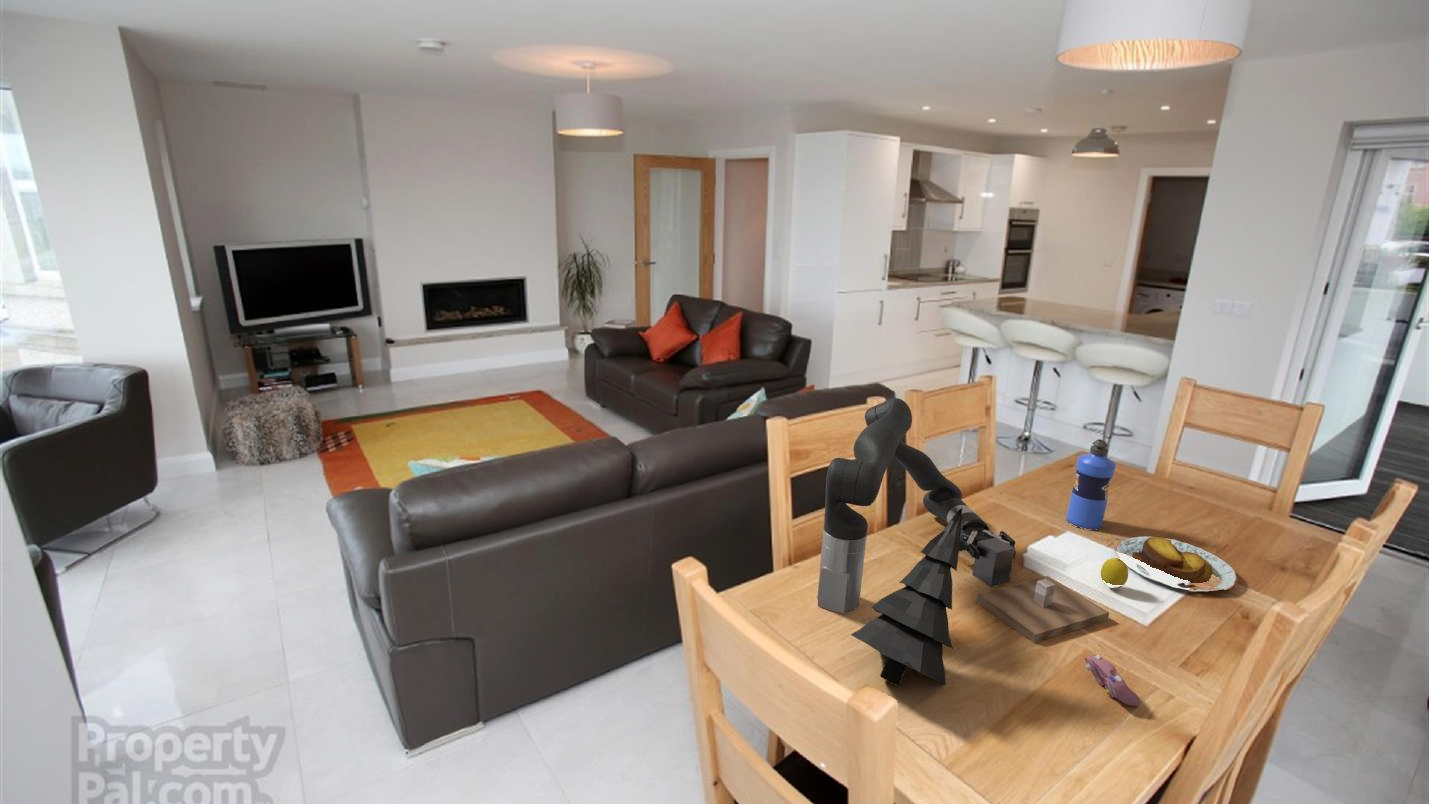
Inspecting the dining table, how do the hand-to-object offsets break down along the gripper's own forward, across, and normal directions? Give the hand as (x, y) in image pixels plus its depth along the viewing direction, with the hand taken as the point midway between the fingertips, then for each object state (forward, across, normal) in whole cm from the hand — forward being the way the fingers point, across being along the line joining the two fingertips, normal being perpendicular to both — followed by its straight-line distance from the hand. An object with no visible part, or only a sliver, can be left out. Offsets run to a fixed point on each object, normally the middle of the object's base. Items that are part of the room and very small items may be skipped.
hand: (995, 556), depth 161 cm
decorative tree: (+30, -30, +7) cm, 43 cm away
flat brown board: (+13, +5, +6) cm, 15 cm away
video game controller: (+38, +4, +7) cm, 39 cm away
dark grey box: (-1, 0, +6) cm, 7 cm away
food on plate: (-5, +49, +7) cm, 50 cm away
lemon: (+4, +27, +7) cm, 28 cm away
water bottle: (-30, +42, +7) cm, 52 cm away
